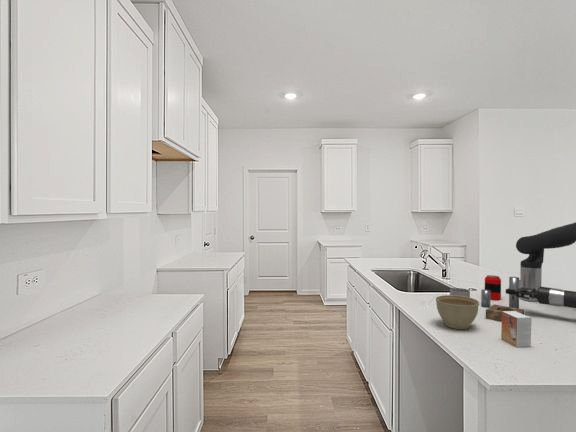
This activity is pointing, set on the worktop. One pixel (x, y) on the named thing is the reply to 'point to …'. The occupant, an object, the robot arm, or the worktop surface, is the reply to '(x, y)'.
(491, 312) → the walnut bored block
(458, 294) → the cup
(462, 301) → the planter bowl
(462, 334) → the worktop surface
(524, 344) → the small box
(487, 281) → the soda can
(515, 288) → the long steel pin
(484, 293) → the short steel pin
